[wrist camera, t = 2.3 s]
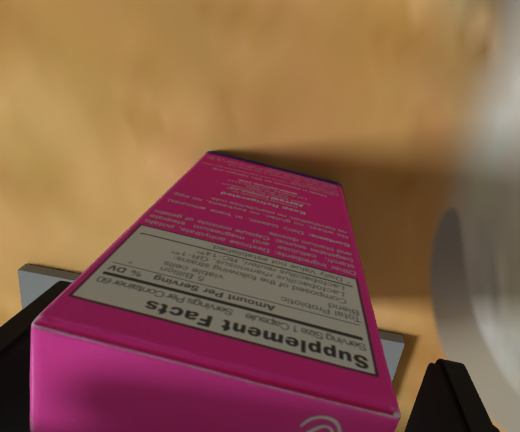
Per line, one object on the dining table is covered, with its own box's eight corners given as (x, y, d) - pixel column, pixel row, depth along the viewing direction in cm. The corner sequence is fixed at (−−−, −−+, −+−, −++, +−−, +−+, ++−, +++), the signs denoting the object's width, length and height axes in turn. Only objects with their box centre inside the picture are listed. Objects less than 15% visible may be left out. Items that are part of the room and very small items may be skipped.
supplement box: (310, 301, 18) (301, 640, 8) (184, 267, 18) (8, 552, 8) (349, 181, 16) (412, 430, 5) (205, 145, 16) (-3, 316, 6)
